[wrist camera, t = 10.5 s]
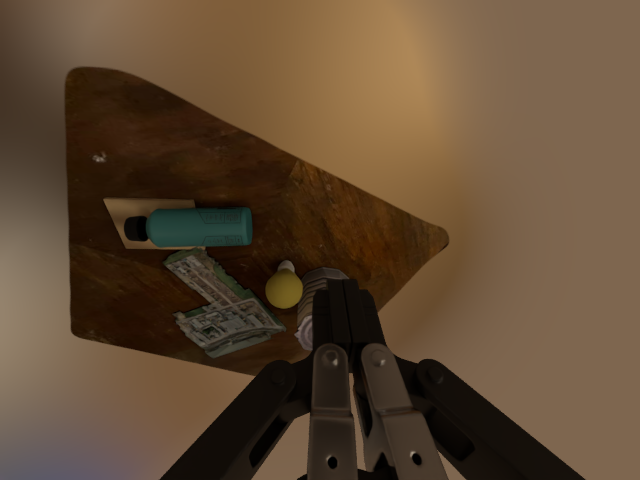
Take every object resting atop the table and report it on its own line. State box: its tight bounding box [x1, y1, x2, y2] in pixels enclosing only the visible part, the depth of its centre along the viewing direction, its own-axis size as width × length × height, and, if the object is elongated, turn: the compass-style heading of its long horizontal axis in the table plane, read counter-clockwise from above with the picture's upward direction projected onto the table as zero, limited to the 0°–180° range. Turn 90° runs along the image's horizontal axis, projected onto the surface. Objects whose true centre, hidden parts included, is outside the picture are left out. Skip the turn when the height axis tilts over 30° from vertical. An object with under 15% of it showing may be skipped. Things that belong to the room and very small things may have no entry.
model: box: [162, 247, 286, 358], centre depth 58 cm, size 21×30×2 cm
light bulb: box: [266, 260, 303, 308], centre depth 49 cm, size 7×7×10 cm
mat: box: [103, 197, 206, 250], centre depth 46 cm, size 10×14×1 cm
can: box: [295, 267, 349, 351], centre depth 52 cm, size 11×11×12 cm
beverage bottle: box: [124, 206, 252, 248], centre depth 43 cm, size 6×7×20 cm
